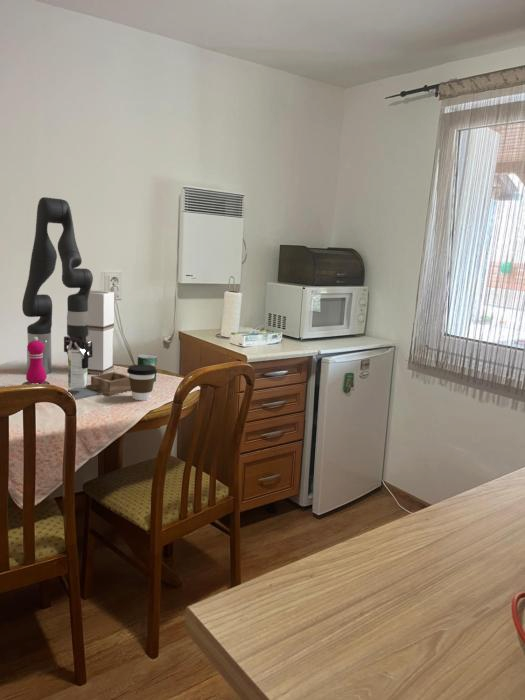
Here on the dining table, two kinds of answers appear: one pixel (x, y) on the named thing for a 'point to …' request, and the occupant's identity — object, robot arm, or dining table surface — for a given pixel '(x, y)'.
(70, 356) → the syrup box
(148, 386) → the coffee cup
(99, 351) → the banded white pillar
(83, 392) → the mat
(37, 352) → the pepper mill
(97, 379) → the wooden tray
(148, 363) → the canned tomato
